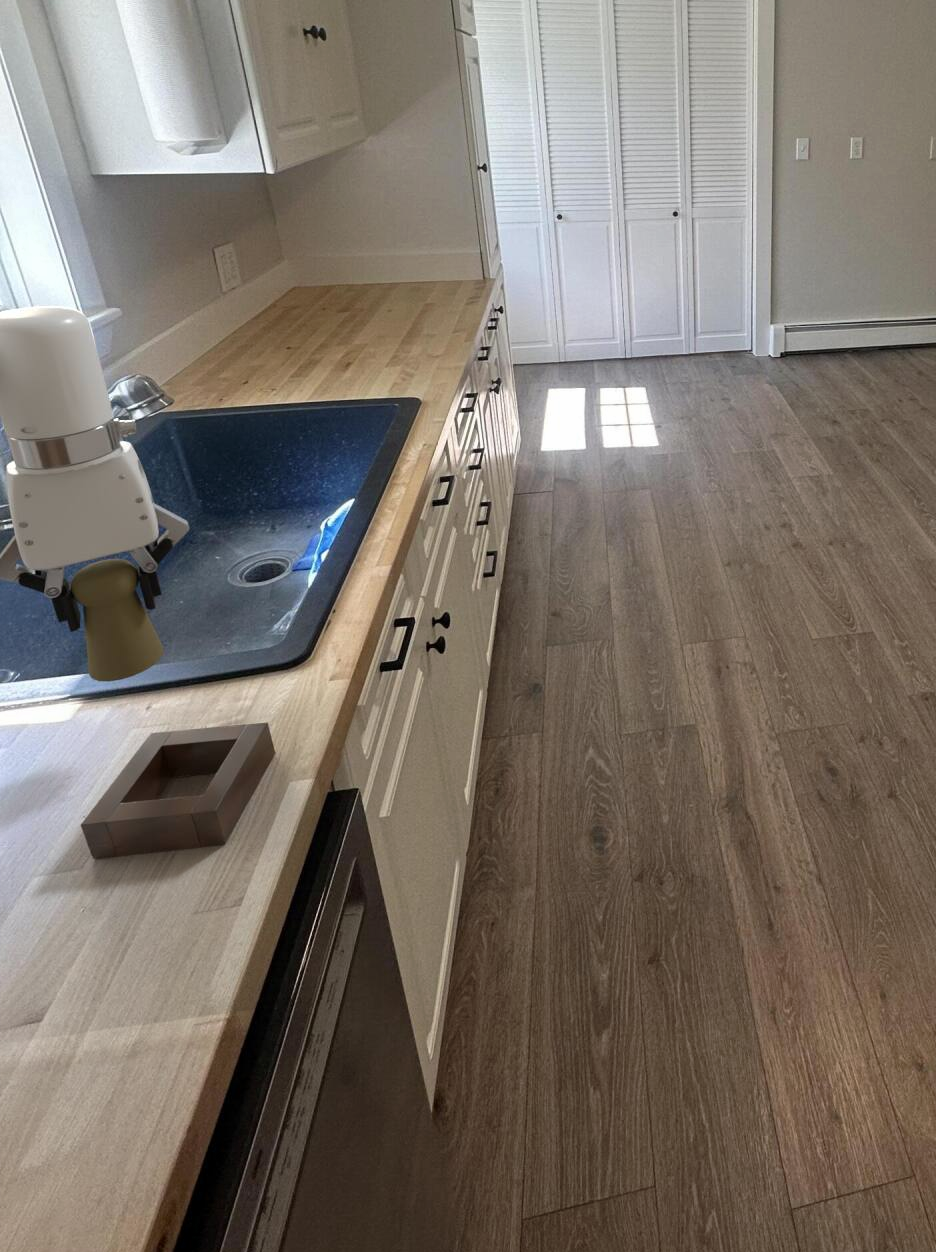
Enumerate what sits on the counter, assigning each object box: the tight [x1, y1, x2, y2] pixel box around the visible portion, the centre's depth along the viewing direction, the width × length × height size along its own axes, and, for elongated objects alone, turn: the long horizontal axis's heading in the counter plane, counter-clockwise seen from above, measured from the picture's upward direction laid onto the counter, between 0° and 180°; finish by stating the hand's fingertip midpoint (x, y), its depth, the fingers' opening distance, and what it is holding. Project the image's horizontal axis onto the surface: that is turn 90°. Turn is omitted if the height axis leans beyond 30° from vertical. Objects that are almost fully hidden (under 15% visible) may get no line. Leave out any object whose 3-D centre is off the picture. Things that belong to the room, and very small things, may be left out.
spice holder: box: [80, 722, 276, 860], centre depth 74 cm, size 11×11×4 cm
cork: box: [70, 558, 165, 682], centre depth 78 cm, size 6×6×11 cm
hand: (113, 611), depth 78 cm, fingers closed on cork, 5 cm apart
